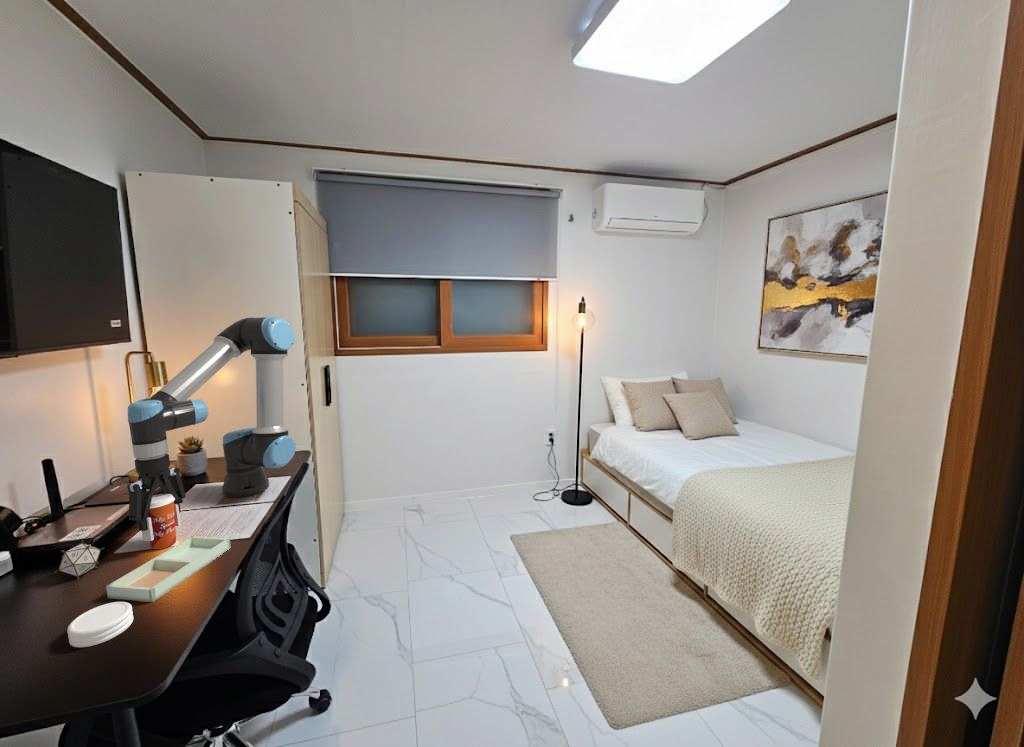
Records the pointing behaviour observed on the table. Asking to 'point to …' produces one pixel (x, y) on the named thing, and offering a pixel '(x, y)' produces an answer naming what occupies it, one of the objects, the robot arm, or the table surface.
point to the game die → (79, 560)
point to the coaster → (100, 624)
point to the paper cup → (162, 521)
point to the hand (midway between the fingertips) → (162, 532)
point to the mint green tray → (168, 569)
